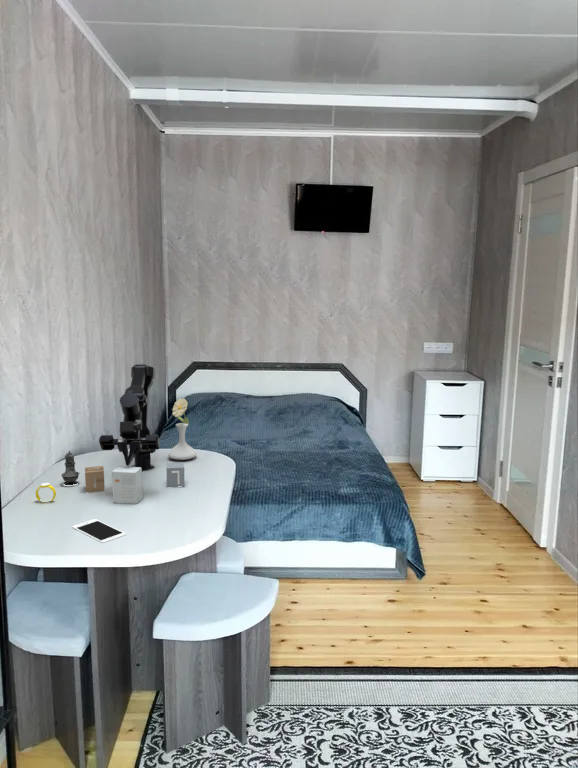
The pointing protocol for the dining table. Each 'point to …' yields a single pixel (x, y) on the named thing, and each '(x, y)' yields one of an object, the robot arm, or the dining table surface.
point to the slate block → (175, 474)
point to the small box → (127, 484)
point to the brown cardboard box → (94, 479)
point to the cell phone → (99, 530)
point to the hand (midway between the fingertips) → (127, 465)
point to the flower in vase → (181, 434)
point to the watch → (45, 487)
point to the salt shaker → (70, 470)
